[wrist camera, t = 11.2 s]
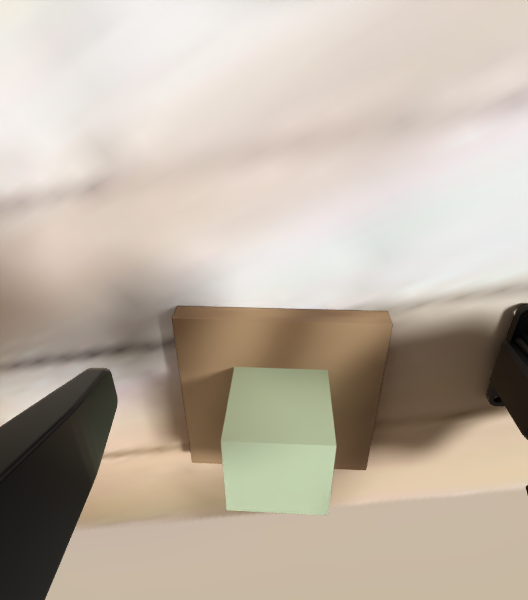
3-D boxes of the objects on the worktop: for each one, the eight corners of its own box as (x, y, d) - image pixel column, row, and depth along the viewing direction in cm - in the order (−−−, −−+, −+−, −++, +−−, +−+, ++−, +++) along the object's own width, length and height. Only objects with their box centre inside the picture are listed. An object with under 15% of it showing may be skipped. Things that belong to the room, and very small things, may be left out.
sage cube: (327, 369, 22) (336, 445, 18) (321, 435, 25) (327, 515, 20) (234, 366, 22) (220, 441, 18) (237, 431, 25) (226, 510, 21)
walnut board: (387, 311, 22) (392, 324, 21) (363, 454, 27) (365, 470, 26) (177, 306, 22) (171, 318, 21) (195, 447, 28) (192, 462, 27)
